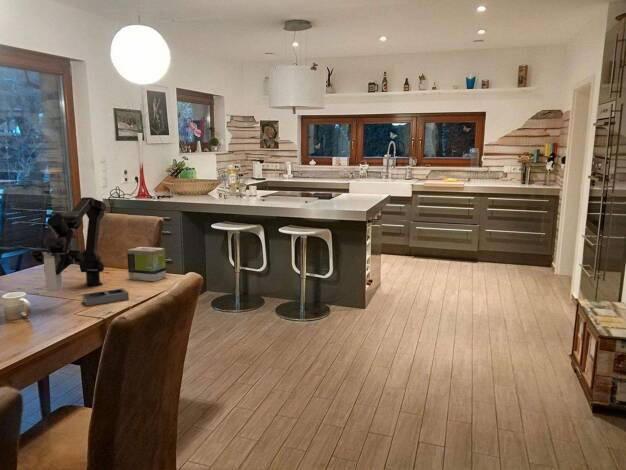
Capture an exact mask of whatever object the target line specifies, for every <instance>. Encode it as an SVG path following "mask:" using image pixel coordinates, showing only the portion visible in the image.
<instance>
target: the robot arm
mask: <svg viewBox="0 0 626 470" xmlns="http://www.w3.org/2000/svg"><path fill="white" fill-rule="evenodd" d="M106 210H107V205H106V203H104V201H102V200H99V199H95V198H94V197H92V196H91V197H88V196H87V197H81V198H80V201H79V202H78V203H77V204H76V205H75V207H73V209H72V210H71V211H69V212H66V213H64V214H63V215H62V213H61V212H58V213H55V214H53V215H52V216H50V217H49V218H48V219H47V221H46V223H47V225H48V226H49V228H50V229H51V231H52V233H54V235H56V237H52V238H51V237H45V242H44V247H47V250H48V251H49V252H48V251H45V250H44V249H32V251H31V253H30V256H31V258H32V259H33V260H34V261H35V262H36V263H40V264H44V256H45V255H48V254H59V255H60V263H59V266H58V268H57V272H56V274H57V275H59V274H60V273H61V274H62V272H63V271H64V270H65V269H67V268H68V267H69V266H71V265H73V264H74V263H77V264H78V266H79V270H80V273H85V279H86V281H85V282H84V285H85V286H87V287H95V286H101V285H103V282H101V277H100V273H102V272H104V270H105V265H104V264H103V262H102V261H101V255H100V254H99V252H98V243H99V235H100V223H101V220H102V219H103V218H104V216H105V212H106ZM85 215H86V216H87V218H88V222H87V233H86V241H85V250H84V251H83V252H82V251H81V250H80V249H72V246H71V245H72V241H73V239H76V234H75V232H74V230H79V229H80V227H81V226H82V223H83V222H82V218H83V217H84V216H85ZM43 267H44V270H43V271H44V272H45V266H44V265H43Z"/></svg>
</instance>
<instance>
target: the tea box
mask: <svg viewBox="0 0 626 470" xmlns="http://www.w3.org/2000/svg"><path fill="white" fill-rule="evenodd" d="M165 250H166V249H165V248H164V247H148V246H138V247H135V248H134V247H133V248H130V249H129V248H128V249H126V256H127V271H128V273H127V274H128V279H129V280H136V281H148V282H157V281H159V280H162V279H165V278H166V277H167V271H166V270H167V268H166V267H167V266H166V265H167V263H166V251H165Z"/></svg>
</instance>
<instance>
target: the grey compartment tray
mask: <svg viewBox="0 0 626 470" xmlns="http://www.w3.org/2000/svg"><path fill="white" fill-rule="evenodd" d="M81 296H82V302H83V304H84V305H85V306H86V305H87V306H86V307H91V306H97V305H98V306H99V305H102V304H103V305H104V304H109V303H116V302H121V301H126V300H127V301H128V300H129V299H130V297H129V292H128V291H127V290H126V289H125V288H123V287H122V288H115V289H109V290H102V291H96V292H95V291H94V292H90V293H89V292H88V293H83V294H82V295H81Z"/></svg>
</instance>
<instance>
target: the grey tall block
mask: <svg viewBox="0 0 626 470" xmlns="http://www.w3.org/2000/svg"><path fill="white" fill-rule="evenodd" d="M59 263H60V255H59V254H48V255H45V256H44V263H43V267H44V266H45V271H44V274H45V275H44V278H45V283H46V284H45V285H46V286H45V289H46V292H59V291H60V290H62V289H63V281H62V272H61V273H60V274H59V275H57V274H56V272H57V268H58V266H59Z"/></svg>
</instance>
